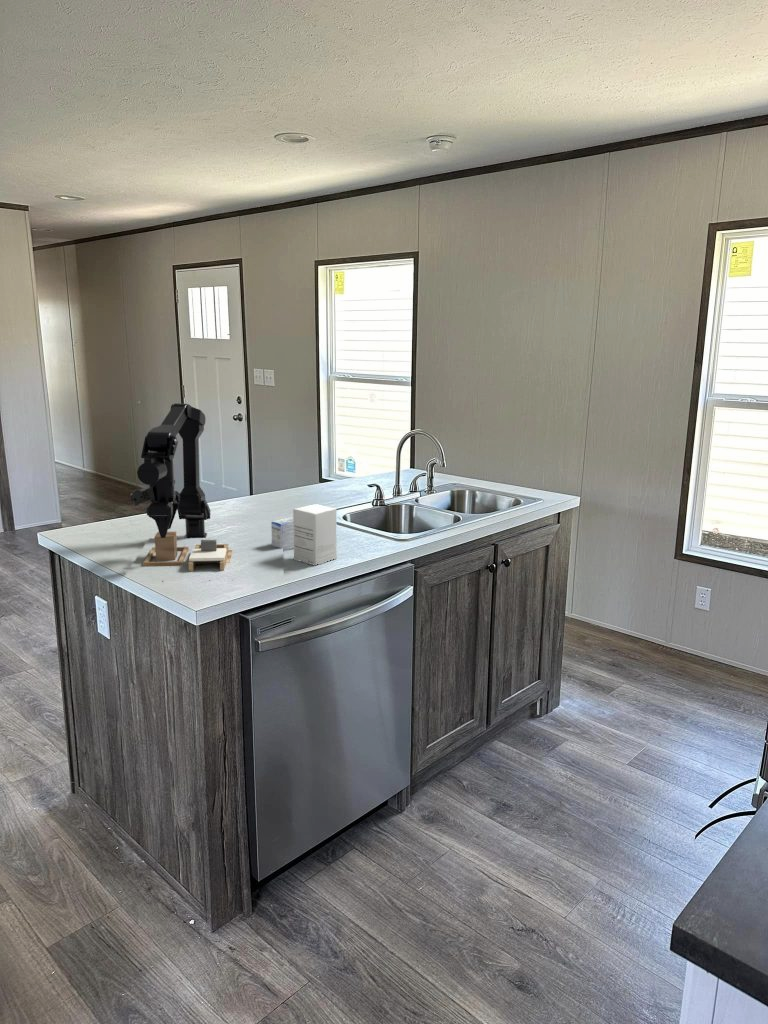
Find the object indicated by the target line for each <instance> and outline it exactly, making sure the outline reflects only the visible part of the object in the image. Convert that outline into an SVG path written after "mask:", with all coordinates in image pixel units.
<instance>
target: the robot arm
mask: <svg viewBox="0 0 768 1024" xmlns="http://www.w3.org/2000/svg"><path fill="white" fill-rule="evenodd" d="M205 425H206V415H205V413H204V412H203V411H202V410H201V409H198V408H196V407H194V406H192V405H190V404H188V403H180V402H179V403H172V404H171V406H170V410H169V411H168V413H167V414H166V416H165V418H164V419H163V420H162V422H161V424H160V425H158V426H156V427H152V428H151V429H150V430H149V431H148V432H147V434H146V435H145V437H144V441H143V446H142V451H141V456H140V458H141V459H143V463H141V465H139V466H138V469H137V472H136V474H137V478H138V480H139V481H140V482H141V483H142V484H144V485H149V486H147V487H143V488H141V489H140V488H137V489H134V490H133V491H132V492H131V493H130V495H129V496H130V502H133V505H134V506H138V505H140V504H142V503H145V502H148V501H149V502H150V503H149V504H148V506H147V507H146V516H148V517H149V519H150V518H151V519H152V520H154V521H155V524H156V527H157V530H158V532H159V533H160V536H161V538H165V537H166V534H167V532H169V530H171V528H172V525H173V522H174V519H175V516H176V513H177V514H178V519H179V520H185V535H184V537H183V539H206V538H207V536H208V533H207V532H206V531H205V521H207V520H210V519H211V514H212V513H211V508H210V506H209V504H208V501H207V500H206V493H205V492H204V490H203V489H202V487H201V486H200V447H199V445H200V442H199V439H200V438H201V436H202V434H203V432H204V431H205ZM178 434H179V436H180V438H181V439H182V463H183V464H182V465H183V466H182V467H183V471H182V472H183V488H182V490H180V492H179V491H177V490H175V484H176V479H175V477H174V475H175V473H174V472H175V471H174V460H173V459H174V458H175V455H176V451H177V447H178V443H179V442H178V439H177V435H178Z"/></svg>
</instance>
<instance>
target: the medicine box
mask: <svg viewBox="0 0 768 1024" xmlns="http://www.w3.org/2000/svg"><path fill="white" fill-rule="evenodd" d="M271 546H272V547H276V548H279V549H282V552H286V551H289V550H294V530H293V516H290V517H285V518H282V519H277V520H273V521H271Z"/></svg>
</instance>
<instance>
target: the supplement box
mask: <svg viewBox="0 0 768 1024" xmlns="http://www.w3.org/2000/svg"><path fill="white" fill-rule="evenodd" d="M292 518H293V530H294V548H293V560H294V559H295V561H298V560H300V561H299V562H301V561H303V562H302V563H305V562H307V563H306V564H308V563H311V564H310V565H312V564H314V565H313V566H315V565H316V566H318V565H317V564H319V565H321V563H322V564H325V563H328V562H331V561H334V560H337V558H338V556H337V555H338V554H337V552H338V550H337V548H338V547H337V546H338V541H337V539H338V537H337V535H338V534H337V529H338V528H337V526H338V525H337V521H338V520H337V508H335V507H331V506H326V505H325V506H324V505H321V504H317V503H316V504H314V503H313V504H310V505H305V506H301V507H296V508H293V509H292ZM333 559H334V560H333ZM330 560H331V561H330ZM327 561H328V562H327ZM324 562H325V563H324Z"/></svg>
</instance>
